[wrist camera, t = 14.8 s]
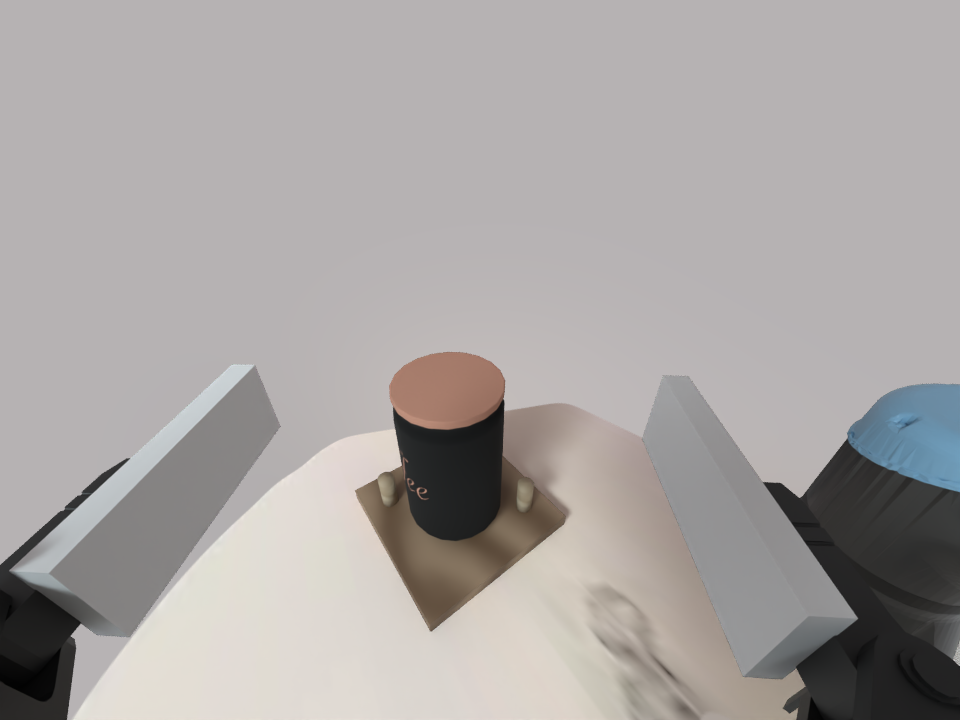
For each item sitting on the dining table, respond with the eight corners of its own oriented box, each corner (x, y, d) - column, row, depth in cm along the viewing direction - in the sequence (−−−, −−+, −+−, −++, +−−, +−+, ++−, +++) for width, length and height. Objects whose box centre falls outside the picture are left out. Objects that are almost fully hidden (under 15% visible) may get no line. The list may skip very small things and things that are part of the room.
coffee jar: (414, 470, 48) (395, 353, 38) (495, 465, 49) (498, 349, 39) (406, 550, 39) (379, 425, 29) (506, 543, 40) (513, 418, 30)
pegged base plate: (473, 435, 55) (472, 407, 52) (564, 523, 43) (570, 494, 40) (357, 498, 46) (348, 468, 43) (430, 631, 34) (425, 604, 31)
